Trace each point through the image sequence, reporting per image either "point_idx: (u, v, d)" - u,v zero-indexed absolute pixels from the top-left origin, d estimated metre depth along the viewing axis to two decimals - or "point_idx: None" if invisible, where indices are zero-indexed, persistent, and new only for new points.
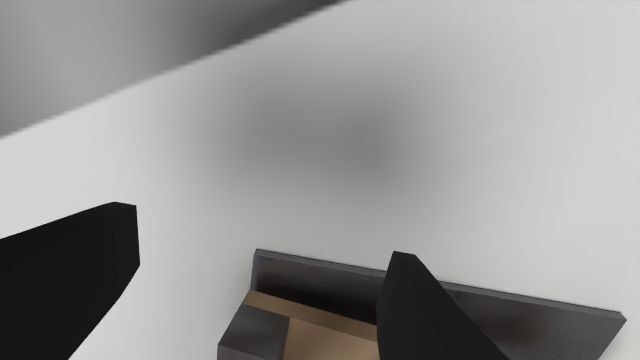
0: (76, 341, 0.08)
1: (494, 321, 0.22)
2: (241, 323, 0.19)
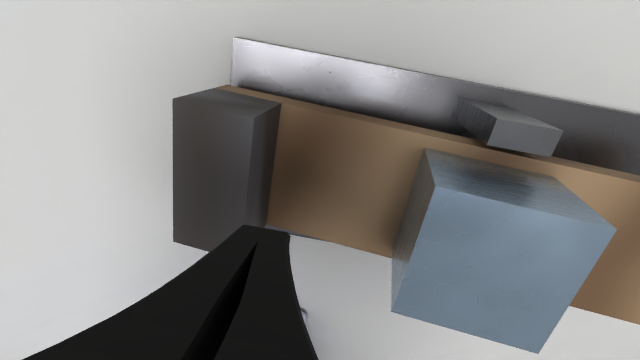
0: None
1: None
2: (211, 95, 0.13)
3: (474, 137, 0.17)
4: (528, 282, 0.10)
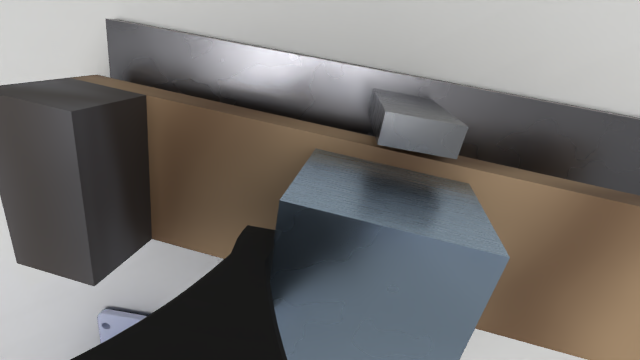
0: None
1: (490, 141, 0.14)
2: (47, 85, 0.11)
3: None
4: (411, 323, 0.08)
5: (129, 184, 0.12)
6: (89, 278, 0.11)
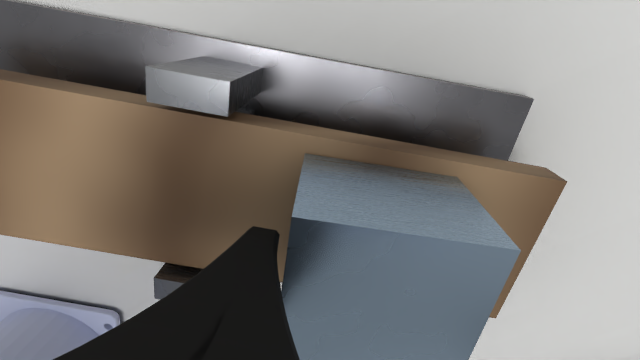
0: None
1: (330, 111, 0.14)
2: None
3: None
4: (426, 322, 0.08)
5: None
6: None
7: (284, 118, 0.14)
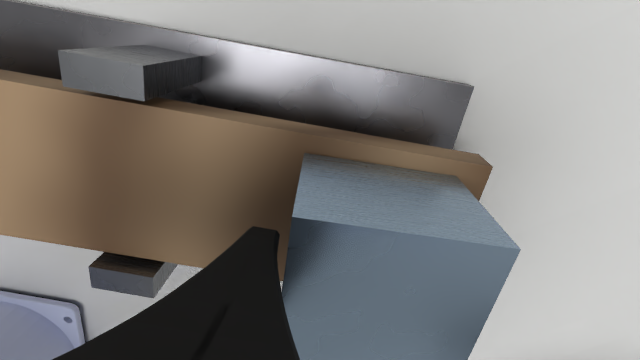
0: None
1: (272, 100, 0.14)
2: None
3: (179, 95, 0.14)
4: (427, 321, 0.08)
5: None
6: None
7: (227, 107, 0.14)
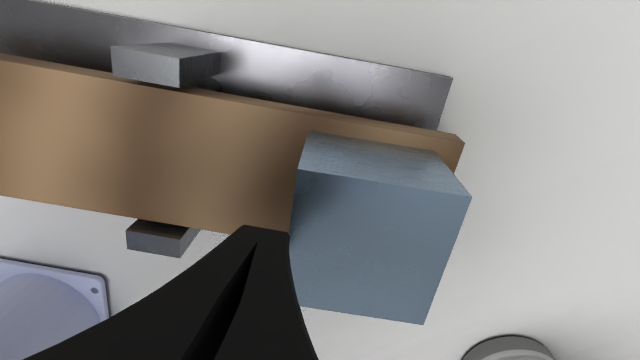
0: None
1: (280, 90, 0.16)
2: None
3: (199, 86, 0.16)
4: (402, 257, 0.10)
5: None
6: None
7: None
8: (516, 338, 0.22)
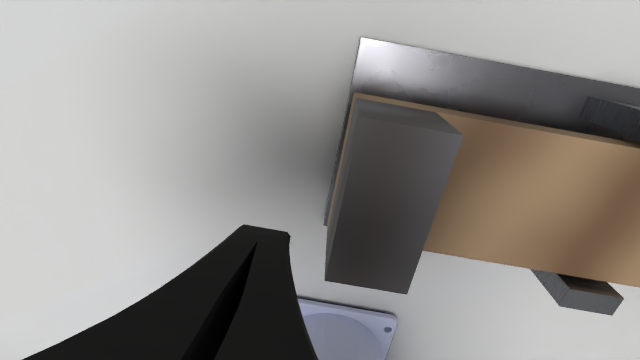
0: None
1: None
2: (374, 108, 0.11)
3: None
4: None
5: None
6: (405, 287, 0.12)
7: None
8: None
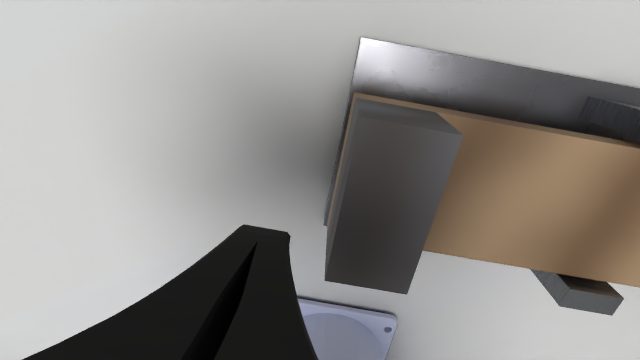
0: None
1: None
2: (374, 108, 0.11)
3: None
4: None
5: None
6: (405, 287, 0.12)
7: None
8: None
